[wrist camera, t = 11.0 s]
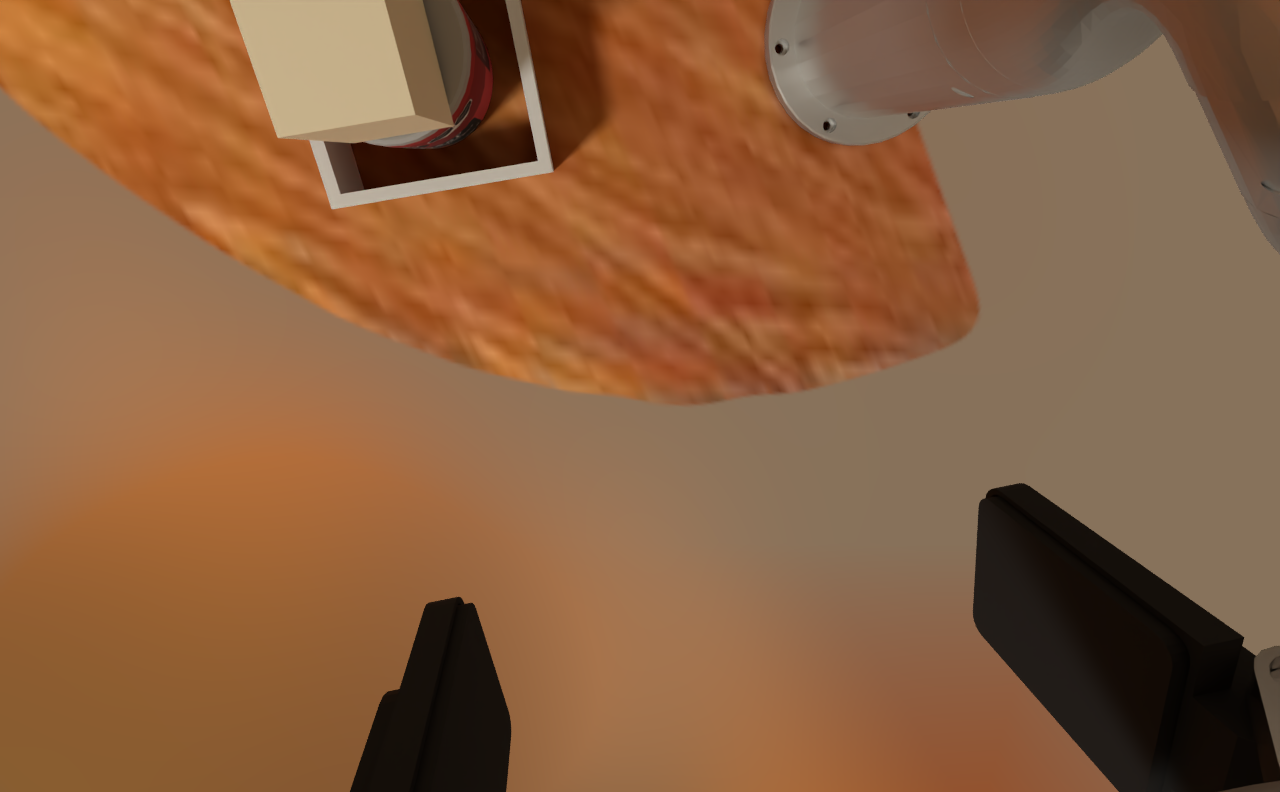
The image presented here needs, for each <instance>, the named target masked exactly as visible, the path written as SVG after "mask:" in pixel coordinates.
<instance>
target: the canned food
mask: <svg viewBox="0 0 1280 792" xmlns="http://www.w3.org/2000/svg"><path fill="white" fill-rule="evenodd" d="M423 4H424V8H425V12H426V16H427V20H428V24H429V28H430V32H431V36H432V40H433V44H434V48H435V52H436V56H437V60H438V64H439V68H440V72H441V76H442V80H443V84H444V88H445V92H446V96H447V100H448V104H449V108H450V112H451V116H452V120H453V124H454V126H453V127H447V128H441V129H435V130H429V131H423V132H417V133H412V134H406V135H400V136H394V137H388V138H382V139H376V140H370V141H364V142H366V143H368V144H373V145H380V146H386V147H393V148H415V149H438V148H444V147H448V146H451V145H454V144H456V143H458V142H460V141H461V140H463V139H465V138H466V137H467V136H468V135H470V134H471V133H472V132H473V131H474V130H475V129H476V128H477V126H478V125H479V124H480V122H481V121H482V120H483V118H484V116H485V114H486V111H487V109H488V107H489V103H490V100H491V96H492V88H493V73H492V64H491V60H490V56H489V53H488V49H487V47H486V45H485V43H484V41H483V39H482V37H481V35H480V33H479V32H478V30H477V29H476V27H475V25H474V24H473V22H472V21H471V19H470V18H469V16H468V15H467V13H466V11H465V10H464V8H463V7H462V5H461V4H460V2H459V1H458V0H423Z"/></svg>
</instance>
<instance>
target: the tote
mask: <svg viewBox="0 0 1280 792" xmlns="http://www.w3.org/2000/svg"><path fill="white" fill-rule="evenodd" d="M505 1H506V6H507V11H508V16H509V20H510V25H511V30H512V35H513V40H514V45H515V50H516V55H517V60H518V65H519V70H520V75H521V80H522V84H523V89H524V94H525V99H526V104H527V109H528V114H529V119H530V124H531V129H532V134H533V139H534V144H535V149H536V153H537V158H538V161H535V162H529V163H523V164H517V165H511V166H505V167H499V168H493V169H487V170H481V171H475V172H469V173H463V174H458V175H452V176H446V177H440V178H434V179H428V180H422V181H416V182H410V183H404V184H398V185H392V186H386V187H380V188H374V189H368V190H364V186H363V183H362V180H361V177H360V173H359V170H358V167H357V164H356V160H355V157H354V154H353V150H352V147H351V144H350V143H343V142H329V141H315V140H309V141H310V144H311V147H312V150H313V153H314V156H315V159H316V162H317V165H318V168H319V171H320V174H321V177H322V180H323V183H324V186H325V189H326V192H327V196H328V199H329V202H330V205H331V208H332V209H337V208H343V207H349V206H355V205H361V204H367V203H373V202H378V201H384V200H390V199H396V198H402V197H408V196H414V195H420V194H426V193H432V192H438V191H444V190H449V189H455V188H461V187H467V186H473V185H479V184H485V183H491V182H497V181H503V180H509V179H515V178H520V177H526V176H532V175H538V174H544V173H550V172H553V171H554V168H553V163H552V158H551V153H550V147H549V142H548V137H547V132H546V127H545V122H544V117H543V112H542V106H541V101H540V96H539V91H538V86H537V81H536V76H535V71H534V65H533V60H532V55H531V50H530V45H529V40H528V35H527V30H526V24H525V19H524V14H523V9H522V4H521V0H505Z"/></svg>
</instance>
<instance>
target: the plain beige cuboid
mask: <svg viewBox="0 0 1280 792" xmlns="http://www.w3.org/2000/svg"><path fill="white" fill-rule="evenodd" d="M230 2H231V5H232V8H233V11H234V14H235V17H236V20H237V23H238V25H239V28H240V31H241V34H242V37H243V40H244V43H245V45H246V48H247V51H248V54H249V57H250V60H251V63H252V65H253V68H254V71H255V74H256V77H257V80H258V83H259V85H260V88H261V91H262V94H263V97H264V100H265V103H266V105H267V108H268V111H269V114H270V117H271V120H272V123H273V125H274V128H275V131H276V134H277V137H278V138H287V139H301V140H315V141H329V142H343V143H358V142H364V141H370V140H376V139H382V138H388V137H394V136H400V135H406V134H412V133H417V132H423V131H429V130H435V129H441V128H447V127H453V126H454V124H453V120H452V116H451V112H450V108H449V104H448V100H447V96H446V92H445V88H444V84H443V80H442V76H441V72H440V68H439V64H438V60H437V56H436V52H435V48H434V44H433V40H432V36H431V32H430V28H429V24H428V20H427V16H426V12H425V8H424V4H423V0H230Z"/></svg>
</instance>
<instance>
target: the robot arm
mask: <svg viewBox="0 0 1280 792" xmlns="http://www.w3.org/2000/svg"><path fill="white" fill-rule="evenodd" d="M1162 34H1163V35H1164V36H1165V38H1166V40H1167V42H1168V43H1169V45H1170V47H1171V49H1172V51H1173V53H1174V55H1175V57H1176V59H1177V61H1178V63H1179V65H1180V67H1181V70H1182V72H1183V74H1184V76H1185V79H1186V81H1187V83H1188V85H1189V86H1190V87H1191V89H1193V91H1195V93H1196V95H1197V97H1198V100H1199V102H1200V104H1201V106H1202V108H1203V110H1204V113H1205V115H1206V117H1207V119H1208V122H1209V124H1210V126H1211V128H1212V130H1213V133H1214V135H1215V137H1216V139H1217V142H1218V144H1219V146H1220V148H1221V150H1222V152H1223V155H1224V157H1225V159H1226V161H1227V163H1228V165H1229V168H1230V170H1231V172H1232V175H1233V177H1234V179H1235V181H1236V183H1237V186H1238V188H1239V190H1240V192H1241V194H1242V196H1243V197H1244V199H1245V201H1246V203H1247V206H1248V208H1249V210H1250V212H1251V214H1252V216H1253V218H1254V219H1255V221H1256V223H1257V224H1258V226H1259V228H1260V229H1261V231H1262V233H1263V235H1264V236H1265V237H1266V239H1267V241H1268V242H1269V243H1270V244H1271V246H1272V247H1273V248H1274V249H1275V250H1276V251H1277V252H1278V253H1279V254H1280V0H771V2H770V6H769V9H768V12H767V20H766V27H765V59H766V64H767V69H768V74H769V78H770V81H771V83H772V86H773V89H774V91H775V94H776V96H777V98H778V100H779V101H780V103H781V104H782V106H783V108H784V109H785V111H786V112H787V114H788V115H789V116H790V117H791V118H792V119H793V120H794V121H795V122H796V123H797V124H798V125H799V126H800V127H801V128H803V129H804V130H806V131H807V132H809V133H810V134H812V135H813V136H815V137H817V138H820V139H822V140H825V141H827V142H830V143H834V144H841V145H848V146H851V145H867V144H873V143H879V142H882V141H885V140H888V139H890V138H893V137H895V136H898V135H900V134H901V133H903V132H905V131H906V130H908V129H909V128H911V127H913V126H914V125H916V124H917V123H918V122H919V121H920V120H921V119H922V118H923V117H925V116H926V115H927V114H928V113H929V112H930V111H931V110H937V109H945V108H952V107H961V106H968V105H976V104H984V103H991V102H999V101H1006V100H1015V99H1022V98H1030V97H1035V96H1041V95H1048V94H1054V93H1059V92H1063V91H1067V90H1071V89H1076V88H1078V87H1081V86H1084V85H1087V84H1089V83H1092V82H1094V81H1097V80H1099V79H1101V78H1103V77H1105V76H1106V75H1108V74H1110V73H1112V72H1114V71H1115V70H1117V69H1119V68H1120V67H1122V66H1123V65H1125V64H1126V63H1128V62H1129V61H1131V60H1132V59H1134V58H1135V57H1137V56H1138V55H1139V54H1141V53H1142V52H1143V51H1144V50H1145V49H1147V48H1148V47H1149V46H1150V45H1151V44H1152V43H1154V42H1155V41H1156V40H1157V39H1158V38H1159V37H1160V36H1161V35H1162ZM776 45H779V46H780V47H781V52H780V53H779V54H778V53H776V50H775V46H776ZM907 113H909V115H907ZM824 122H826V123H827V124H828V127H827V129H826V130H824V128H823V124H824ZM978 513H979V514H978V530H977V549H976V567H975V586H974V603H973V618H974V622H975V624H976V627H977V629H978V631H979V632H980V634H981V635H982V636H983V637H984V639H985V640H986V641H987V642H988V643H989V644H990V645H991V646H992V648H993V649H994V650H995V651H996V652H997V653H998V654H999V656H1000V657H1001V658H1002V659H1003V660H1004V661H1005V662H1006V664H1007V665H1008V666H1009V667H1010V668H1011V669H1012V670H1013V672H1014V673H1015V674H1016V675H1017V676H1018V677H1019V678H1020V680H1021V681H1022V682H1023V683H1024V684H1025V685H1026V686H1027V688H1028V689H1029V690H1030V691H1031V692H1032V693H1033V694H1034V695H1035V697H1036V698H1037V699H1038V700H1039V701H1040V702H1041V703H1042V705H1043V706H1044V707H1045V708H1046V709H1047V710H1048V711H1049V712H1050V714H1051V715H1052V716H1053V717H1054V718H1055V719H1056V721H1057V722H1058V723H1059V724H1060V725H1061V726H1062V727H1063V729H1064V730H1065V731H1066V732H1067V733H1068V734H1069V735H1070V736H1071V738H1072V739H1073V740H1074V741H1075V742H1076V743H1077V744H1078V746H1079V747H1080V748H1081V749H1082V750H1083V751H1084V752H1085V754H1086V755H1087V756H1088V757H1089V758H1090V759H1091V760H1092V762H1094V764H1095V765H1096V766H1097V767H1098V768H1099V770H1100V771H1101V772H1102V773H1103V774H1104V775H1105V776H1106V777H1107V778H1108V780H1109V781H1110V782H1111V783H1112V784H1113V785H1114V787H1115V788H1116V789H1117V790H1118V791H1119V792H1280V646H1274V647H1271V648H1268V649H1264V650H1262V651H1261V652H1260V653H1259V654H1258V655H1257V656H1255V655H1254V654H1253V653H1251V652H1250V651H1248V650H1247V649H1246V648H1244V647H1243V646H1242V644H1243V640H1244V637H1243V636H1242V635H1240V634H1239V633H1237V632H1236V631H1234V630H1233V629H1232V628H1230V627H1229V626H1227V625H1226V624H1224V623H1223V622H1222V621H1220V620H1219V619H1217V618H1216V617H1215V616H1213V615H1212V614H1210V613H1209V612H1207V611H1206V610H1205V609H1203V608H1202V607H1200V606H1199V605H1198V604H1196V603H1195V602H1193V601H1192V600H1190V599H1189V598H1188V597H1186V596H1185V595H1183V594H1182V593H1180V592H1179V591H1178V590H1176V589H1175V588H1173V587H1172V586H1171V585H1169V584H1168V583H1166V582H1165V581H1163V580H1162V579H1161V578H1159V577H1158V576H1156V575H1155V574H1153V573H1152V572H1151V571H1149V570H1148V569H1146V568H1145V567H1143V566H1142V565H1141V564H1139V563H1138V562H1136V561H1135V560H1134V559H1132V558H1131V557H1129V556H1128V555H1126V554H1125V553H1123V552H1122V551H1121V550H1119V549H1118V548H1116V547H1115V546H1114V545H1112V544H1111V543H1109V542H1108V541H1107V540H1105V539H1104V538H1102V537H1101V536H1099V535H1098V534H1097V533H1095V532H1094V531H1092V530H1091V529H1089V528H1088V527H1087V526H1085V525H1084V524H1082V523H1081V522H1080V521H1078V520H1077V519H1075V518H1074V517H1072V516H1071V515H1070V514H1068V513H1067V512H1065V511H1064V510H1062V509H1061V508H1060V507H1058V506H1057V505H1055V504H1054V503H1053V502H1051V501H1050V500H1048V499H1047V498H1045V497H1044V496H1042V495H1041V494H1040V493H1038V492H1037V491H1035V490H1034V489H1033V488H1031V487H1030V486H1028V485H1026V484H1022V483H1021V484H1020V483H1019V484H1014V485H1009V486H1004V487H999V488H994V489H991V490H990V491H988V493H987V494H986V498H985V499H982V500H981V501H980V503H979V512H978ZM510 741H511V721H510V715H509V711H508V708H507V705H506V702H505V698H504V695H503V692H502V689H501V686H500V683H499V680H498V677H497V673H496V670H495V667H494V664H493V661H492V658H491V654H490V651H489V648H488V645H487V642H486V639H485V636H484V632H483V629H482V626H481V623H480V620H479V617H478V614H477V611H476V608H475V605H474V604H473V603H468V604H464V602H463V600H462V598H461V597H455V598H450V599H445V600H440V601H435V602H430V603H428V604H426V606H425V608H424V611H423V615H422V618H421V621H420V625H419V628H418V631H417V634H416V638H415V641H414V644H413V647H412V651H411V654H410V657H409V660H408V663H407V667H406V670H405V673H404V676H403V680H402V683H401V686H400V689H398V690H393V691H388V692H387V693H386V694H385V695H384V696H383V697H382V700H381V702H380V704H379V707H378V710H377V713H376V716H375V719H374V722H373V725H372V728H371V730H370V733H369V736H368V739H367V742H366V745H365V749H364V751H363V754H362V757H361V760H360V763H359V766H358V769H357V772H356V775H355V778H354V781H353V784H352V787H351V790H350V792H506V786H507V776H508V765H509V764H508V763H509V753H510Z"/></svg>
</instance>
